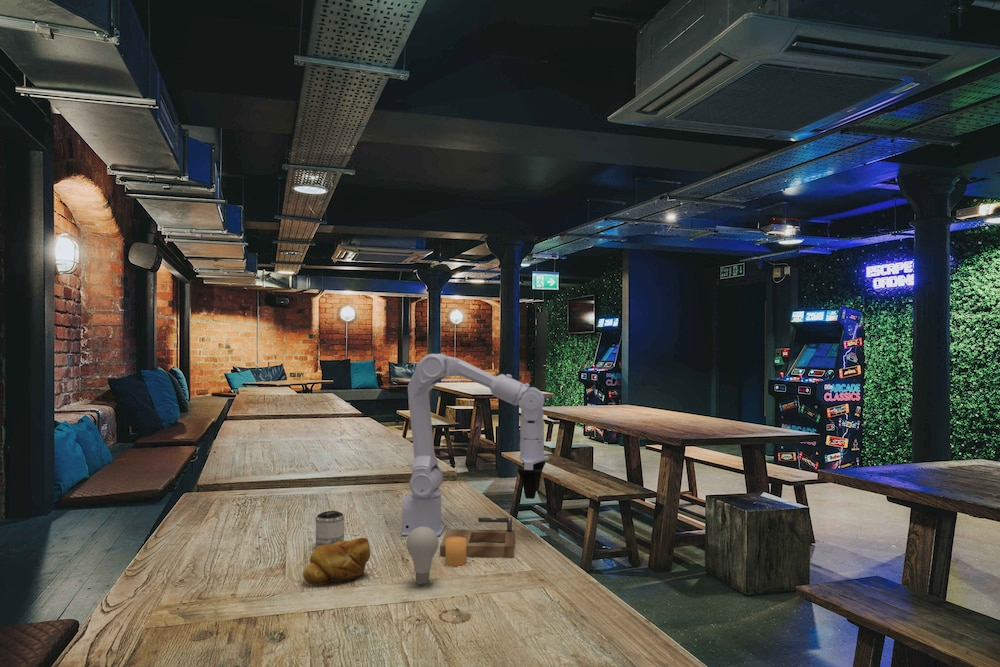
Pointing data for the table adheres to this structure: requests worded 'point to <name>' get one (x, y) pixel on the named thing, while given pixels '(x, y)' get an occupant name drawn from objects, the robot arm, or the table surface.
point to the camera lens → (329, 528)
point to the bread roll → (337, 561)
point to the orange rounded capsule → (455, 551)
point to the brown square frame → (483, 548)
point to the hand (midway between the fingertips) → (532, 494)
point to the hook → (508, 520)
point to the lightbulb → (422, 551)
